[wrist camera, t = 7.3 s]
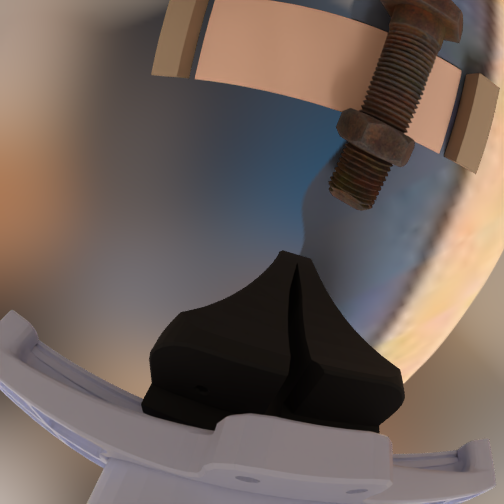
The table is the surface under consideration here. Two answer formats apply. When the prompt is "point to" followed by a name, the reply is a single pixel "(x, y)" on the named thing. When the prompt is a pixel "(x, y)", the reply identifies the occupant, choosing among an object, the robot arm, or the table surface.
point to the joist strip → (318, 66)
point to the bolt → (392, 98)
